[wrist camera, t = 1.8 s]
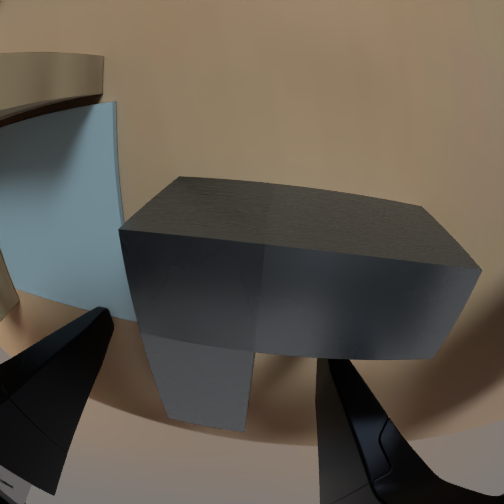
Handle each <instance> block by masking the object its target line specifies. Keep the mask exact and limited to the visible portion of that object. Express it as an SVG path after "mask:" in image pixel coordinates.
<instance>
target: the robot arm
mask: <svg viewBox="0 0 504 504" xmlns="http://www.w3.org/2000/svg"><path fill="white" fill-rule="evenodd" d="M113 330H114V323H113V320H112V317H111V314H110V311H109V309H108V308H105V307H101V306H98V307H96V308H94V309H92V310H91V311H89V312H87V313H85V314H84V315H82V316H80V317H79V318H77V319H75V320H74V321H72V322H70V323H69V324H67V325H65V326H63V327H62V328H60V329H58V330H57V331H55V332H54V333H52V334H50V335H49V336H47V337H45V338H44V339H42V340H40V341H39V342H37V343H35V344H34V345H32V346H31V347H29V348H27V349H26V350H24V351H22V352H21V353H19V354H18V355H16V356H14V357H12V358H11V359H9V360H7V361H5V362H4V363H2V364H0V504H26V503H25V501H26V498H27V496H28V493H29V490H30V488H31V485H34V486H36V487H38V488H39V489H41V490H43V491H45V492H47V493H49V494H51V495H53V496H54V495H55V492H56V489H57V485H58V482H59V479H60V475H61V472H62V469H63V466H64V463H65V460H66V457H67V453H68V450H69V447H70V444H71V441H72V438H73V435H74V433H75V430H76V428H77V425H78V422H79V419H80V417H81V414H82V412H83V409H84V407H85V404H86V402H87V399H88V397H89V394H90V392H91V389H92V387H93V385H94V382H95V380H96V378H97V375H98V373H99V371H100V368H101V366H102V363H103V360H104V358H105V354H106V351H107V348H108V345H109V342H110V339H111V336H112V334H113ZM315 405H316V421H317V437H318V456H319V483H320V504H504V494H502V495H500V496H490V495H485V494H482V493H478V492H475V491H472V490H469V489H466V488H463V487H460V486H457V485H454V484H451V483H449V482H446V481H444V480H442V479H441V478H439V477H438V476H437V475H436V474H435V473H434V472H433V471H432V470H431V469H430V468H429V467H428V466H427V465H426V464H425V462H424V461H423V460H422V459H421V458H420V457H419V455H418V454H417V453H416V452H415V451H414V450H413V449H412V447H411V446H410V445H409V444H408V442H407V441H406V440H405V439H404V437H403V436H402V435H401V433H400V432H399V431H398V429H397V428H396V426H395V425H394V424H393V422H392V421H391V419H390V418H388V415H387V413H386V412H385V410H384V409H383V408H382V406H381V405H380V403H379V402H378V400H377V399H376V397H375V396H374V394H373V393H372V391H371V390H370V389H369V387H368V386H367V384H366V383H365V381H364V380H363V378H362V377H361V376H360V374H359V373H358V371H357V370H356V368H355V367H354V365H353V364H352V363H351V361H350V360H349V359H329V358H317V374H316V396H315Z"/></svg>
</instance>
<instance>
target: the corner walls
mask: <svg viewBox="0 0 504 504" xmlns="http://www.w3.org/2000/svg"><path fill="white" fill-rule="evenodd" d="M103 63H104V56H99V55H89V54H77V53H59V52H17V53H0V120H3V119H6V118H9V117H12V116H14V115H17V114H21V113H24V112H27V111H30V110H34V109H37V108H40V107H44V106H48V105H52V104H56V103H60V102H64V101H68V100H73V99H77V98H82V97H87V96H92V95H98V94H102V89H103ZM18 302H19V298H18V296H17V294H16V292H15V289H14V287H13V284H12V282H11V279H10V277H9V274H8V272H7V269H6V266H5V263H4V261H3V258H2V255H1V252H0V322H1V321H2V320H3V318H4V317H5V316H6V315H7V314H8V313H9V312H10V310H11V309H12V308H13V307H14V306H15V305H16V304H17V303H18Z"/></svg>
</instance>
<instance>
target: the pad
mask: <svg viewBox="0 0 504 504" xmlns="http://www.w3.org/2000/svg"><path fill="white" fill-rule="evenodd" d="M123 224H124V218H123V210H122V201H121V192H120V181H119V169H118V154H117V131H116V102H108V103H101V104H94V105H88V106H83V107H77V108H72V109H67V110H63V111H58V112H54V113H49V114H45V115H41V116H37V117H34V118H30V119H26V120H23V121H19V122H16V123H13V124H10V125H7V126H3V127H0V248H1V251H2V254H3V257H4V260H5V263H6V266H7V268H8V271H9V274H10V276H11V279H12V281H13V284H14V286H15V288H16V289H19V290H22V291H25V292H28V293H31V294H34V295H37V296H40V297H43V298H47V299H50V300H53V301H56V302H60V303H63V304H67V305H70V306H74V307H78V308H81V309H85V310H89V311H91V310H92V309H94V308H96V307H98V306H101V307H105V308H108V309H109V311H110V314H111V316H113V317H117V318H121V319H126V320H130V321H135V322H137V319H136V315H135V311H134V307H133V303H132V299H131V295H130V290H129V286H128V281H127V276H126V271H125V266H124V261H123V256H122V250H121V244H120V238H119V232H118V229H119V228H120V227H121V226H122V225H123Z"/></svg>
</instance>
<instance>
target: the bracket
mask: <svg viewBox="0 0 504 504" xmlns="http://www.w3.org/2000/svg"><path fill="white" fill-rule="evenodd" d="M118 232H119V238H120V244H121V250H122V256H123V261H124V266H125V271H126V276H127V281H128V286H129V290H130V295H131V299H132V303H133V307H134V311H135V315H136V319H137V323H138V327H139V331H140V334H141V338H142V341H143V345H144V348H145V352H146V355H147V358H148V361H149V365H150V368H151V371H152V374H153V377H154V380H155V383H156V386H157V389H158V392H159V394H160V397H161V400H162V403H163V405H164V408H165V411H166V413H167V416H168V418H170V419H174V420H178V421H183V422H187V423H192V424H197V425H202V426H208V427H213V428H219V429H226V430H233V431H240V432H245V425H246V418H247V411H248V403H249V396H250V389H251V382H252V374H253V367H254V359H255V352H257V353H266V354H276V355H286V356H298V357H312V358H329V359H354V360H410V359H433V357H434V356H435V354H436V353H437V351H438V350H439V348H440V347H441V345H442V344H443V342H444V340H445V339H446V337H447V336H448V334H449V332H450V331H451V329H452V327H453V326H454V324H455V322H456V320H457V319H458V317H459V315H460V313H461V312H462V310H463V308H464V306H465V304H466V302H467V300H468V298H469V296H470V295H471V293H472V291H473V289H474V286H475V284H476V282H477V280H478V278H479V276H480V274H481V272H482V269H481V268H480V267H479V266H478V265H477V264H476V262H475V261H474V260H473V259H472V258H471V257H470V255H469V254H468V253H467V252H466V251H465V250H464V249H463V248H462V247H461V246H460V244H459V243H458V242H457V241H456V240H455V239H454V238H453V237H452V236H451V235H450V234H449V233H448V232H447V231H446V230H445V229H444V228H443V227H442V226H441V225H440V224H439V223H438V222H437V221H436V220H435V219H434V218H433V217H432V216H431V215H430V214H429V213H428V212H427V211H426V210H425V209H424V208H423V207H422V206H417V205H412V204H407V203H402V202H397V201H391V200H386V199H380V198H374V197H369V196H363V195H356V194H350V193H344V192H337V191H330V190H323V189H315V188H308V187H299V186H291V185H282V184H273V183H263V182H253V181H241V180H229V179H215V178H200V177H181V176H179V177H178V178H177V179H176V180H174V181H173V182H172V183H171V184H169V185H168V186H167V187H166V188H165V189H163V190H162V191H161V192H160V193H159V194H157V195H156V196H155V197H154V198H153V199H151V200H150V201H149V202H148V203H147V204H146V205H144V206H143V207H142V208H141V209H140V210H139V211H138V212H136V213H135V214H134V215H133V216H132V217H131V218H130V219H129V220H127V221H126V222H125V223H124V224H123V225H122V226H121V227H120V228H119V229H118Z"/></svg>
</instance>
